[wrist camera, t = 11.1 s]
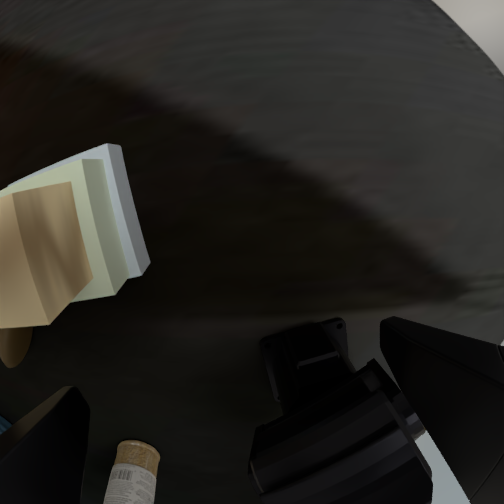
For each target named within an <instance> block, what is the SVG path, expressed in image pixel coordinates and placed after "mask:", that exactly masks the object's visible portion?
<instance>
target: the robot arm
mask: <svg viewBox="0 0 504 504" xmlns="http://www.w3.org/2000/svg"><path fill="white" fill-rule="evenodd" d="M339 323H341V324H340V326H337V324H339ZM336 326H337V327H336ZM266 343H270V344H269V345H268V346H265V344H266ZM260 346H261V350H262V354H263V357H264V361H265V365H266V369H267V373H268V377H269V380H270V384H271V388H272V392H273V396H274V399H275V401H277V402H280V403H281V407H282V411H283V416H281V417H279V418H278V419H276V420H274V421H272V422H270V423H268V424H266V425H264V424H262V425H260V426H258V427H256V430H255V435H254V439H253V444H252V449H251V454H250V459H249V464H248V476H249V478H250V480H251V483H252V485H253V488H254V490H255V491H256V493H257V495H258V496H259V497H260V499H261V500H262V502H263V503H264V504H431V502H432V492H433V483H432V480H431V478H432V471H431V468H430V466H429V465H428V463H427V461H426V460H425V458H424V456H423V455H422V453H421V451H420V450H419V448H418V447H417V445H416V443H415V441H414V440H415V439H417V438H418V437H420V436H421V435H423V434H424V433H425V430H424V428H423V426H422V424H423V425H424V427H425V429H426V430H427V431H428V433H429V435H430V436H431V438H432V440H433V441H434V443H435V444H436V446H437V448H438V449H439V451H440V452H441V454H442V456H443V457H444V459H445V461H446V462H447V464H448V465H449V467H450V469H451V471H452V472H453V474H454V476H455V477H456V479H457V481H458V482H459V484H460V486H461V487H462V489H463V491H464V492H465V494H466V496H467V498H468V500H470V501H469V502H470V503H471V504H504V346H501V345H498V346H497V345H496V344H493V343H489V342H486V341H482V340H478V339H474V338H471V337H467V336H463V335H460V334H456V333H452V332H449V331H445V330H441V329H438V328H434V327H431V326H427V325H424V324H420V323H416V322H413V321H409V320H406V319H402V318H399V317H395V316H392V317H389V318H387V319H384V320H382V321H381V323H380V348H381V351H382V353H383V355H384V357H385V359H386V361H387V363H388V365H389V367H390V369H391V371H392V373H393V375H394V377H395V379H396V381H397V383H398V385H399V387H400V389H401V390H400V389H399V388H398V386H397V385H396V384H395V382H394V381H393V380H392V379H391V378H390V377H389V375H388V374H387V373H386V372H385V371H384V369H383V368H382V367H381V366H380V365H379V364H378V362H377V361H376V360H375V359H374V358H373V359H372V360H370V361H369V362H367V365H366V366H364V367H363V368H361V369H360V370H358V371H356V369H355V368H354V366H353V364H352V363H351V361H350V360H349V358H348V346H347V333H346V324H345V321H344V320H343V319H342V318H336V319H332V320H329V321H325V322H322V323H319V322H318V323H314V324H311V325H307V326H304V327H300V328H296V329H292V330H289V331H287V332H285V333H281V334H277V335H273V336H269V337H265V338H263V339H262V340H261V342H260ZM401 391H402V392H401ZM403 394H404V395H403ZM278 396H279V397H278ZM414 411H415V412H414ZM416 414H417V415H416ZM417 416H418V417H417ZM419 419H420V420H419ZM89 420H90V408H89V405H88V404H87V402H86V401H85V399H84V397H83V396H82V394H81V393H80V391H79V390H78V388H76V387H75V386H65V387H63V388H61V389H60V390H59V391H57V392H56V393H55V394H53V395H52V396H51V397H49V398H48V399H47V400H45V401H44V402H43V403H41V404H40V405H39V406H37V407H36V408H35V409H33V410H32V411H31V412H29V413H28V414H27V415H25V416H24V417H23V418H22V419H20V420H19V421H18V422H16V423H15V424H14V425H12V426H11V427H10V428H8V429H7V430H6V431H4V432H3V433H2V434H0V504H80V500H81V492H82V484H83V476H84V469H85V463H86V456H87V446H88V432H89ZM420 421H421V422H422V424H421V422H420Z"/></svg>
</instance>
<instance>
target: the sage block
mask: <svg viewBox="0 0 504 504" xmlns="http://www.w3.org/2000/svg"><path fill="white" fill-rule="evenodd" d="M70 181H71V185H72V190H73V196H74V201H75V206H76V211H77V216H78V220H79V225H80V229H81V233H82V237H83V242H84V246H85V249H86V253H87V257H88V261H89V264H90V268H91V271H92V275H93V279H92V280H91V281H90V282H89V283H88V284H87V285H86V286H85V287H84V288H83V289H82V290H81V291H80V292H79V293H78V294H77V296H76V297H75V298H74V299H73V300H72V301H71V302H76V301H82V300H88V299H94V298H100V297H106V296H112V295H115V294H116V293H117V292H118V290H119V289H120V288H121V286H122V285H123V284H124V282H125V281H126V280H127V279H128V277H129V276H130V273H129V270H128V266H127V263H126V259H125V255H124V252H123V248H122V244H121V240H120V236H119V232H118V228H117V224H116V220H115V215H114V211H113V207H112V202H111V197H110V193H109V188H108V183H107V178H106V172H105V167H104V161H103V159H80V160H77V161H74V162H71V163H68V164H65V165H63V166H60V167H57V168H54V169H52V170H49V171H46V172H44V173H41V174H39V175H36V176H33V177H31V178H29V179H26V180H24V181H21V182H19V183H17V184H14V185H12V186H10V187H7V188H5V189H3V190H1V191H0V198H1V197H3V196H6V195H9V194H11V193H15V192H20V191H24V190H29V189H34V188H38V187H43V186H48V185H54V184H59V183H64V182H70Z"/></svg>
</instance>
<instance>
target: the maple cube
mask: <svg viewBox="0 0 504 504" xmlns="http://www.w3.org/2000/svg"><path fill="white" fill-rule="evenodd" d="M92 279H93V275H92V271H91V268H90V264H89V261H88V257H87V253H86V249H85V246H84V242H83V237H82V233H81V229H80V225H79V220H78V216H77V211H76V206H75V201H74V196H73V190H72V185H71V181H70V182H64V183H59V184H54V185H48V186H43V187H38V188H34V189H29V190H24V191H20V192H15V193H11V194H9V195H6V196H3V197H1V198H0V328H15V327H28V326H41V325H50V324H51V323H52V321H53V320H54V319H55V318H56V317H57V316H58V315H59V314H60V313H61V312H62V310H63V309H64V308H65V307H66V306H67V305H68V304H69V303H70V302H71V301H72V300H73V299H74V298H75V297H76V296H77V294H78V293H79V292H80V291H81V290H82V289H83V288H84V287H85V286H86V285H87V284H88V283H89V282H90V281H91V280H92Z"/></svg>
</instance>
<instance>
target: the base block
mask: <svg viewBox="0 0 504 504" xmlns="http://www.w3.org/2000/svg"><path fill="white" fill-rule="evenodd" d="M80 159H103V161H104V167H105V172H106V178H107V183H108V188H109V193H110V197H111V202H112V207H113V211H114V215H115V220H116V224H117V228H118V232H119V236H120V240H121V244H122V248H123V252H124V255H125V259H126V263H127V266H128V270H129V273H130V276H129V277H128V279H129V278H133V277H138V276H142V274H143V273H144V271H145V270H146V268H147V267H148V266H149V264H150V260H149V256H148V253H147V250H146V246H145V243H144V239H143V236H142V232H141V228H140V225H139V221H138V217H137V214H136V210H135V206H134V202H133V198H132V194H131V190H130V186H129V182H128V177H127V173H126V169H125V164H124V160H123V155H122V150H121V146H119V145H113V144H104V145H101V146H99V147H96V148H93V149H90V150H88V151H85V152H82V153H80V154H77V155H75V156H72V157H70V158H67V159H65V160H62V161H60V162H58V163H55V164H53V165H51V166H48V167H46V168H44V169H42V170H39V171H37V172H35V173H33V174H31V175H28V176H26V177H24V178H22V179H20V180H18V181H16V182H14V183H12V184H10V185H8V187H10V186H12V185H14V184H17V183H19V182H21V181H24V180H26V179H29V178H31V177H33V176H36V175H39V174H41V173H44V172H46V171H49V170H52V169H54V168H57V167H60V166H63V165H65V164H68V163H71V162H74V161H77V160H80Z"/></svg>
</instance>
